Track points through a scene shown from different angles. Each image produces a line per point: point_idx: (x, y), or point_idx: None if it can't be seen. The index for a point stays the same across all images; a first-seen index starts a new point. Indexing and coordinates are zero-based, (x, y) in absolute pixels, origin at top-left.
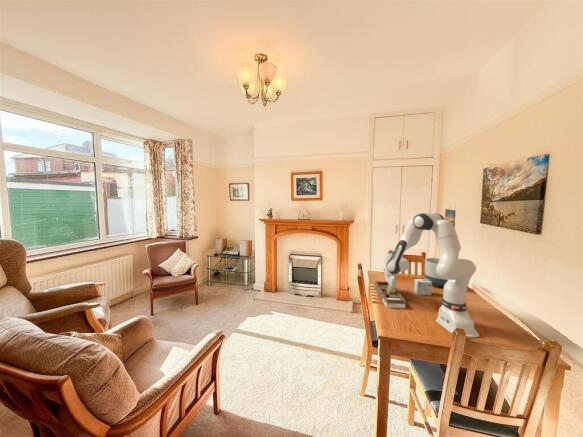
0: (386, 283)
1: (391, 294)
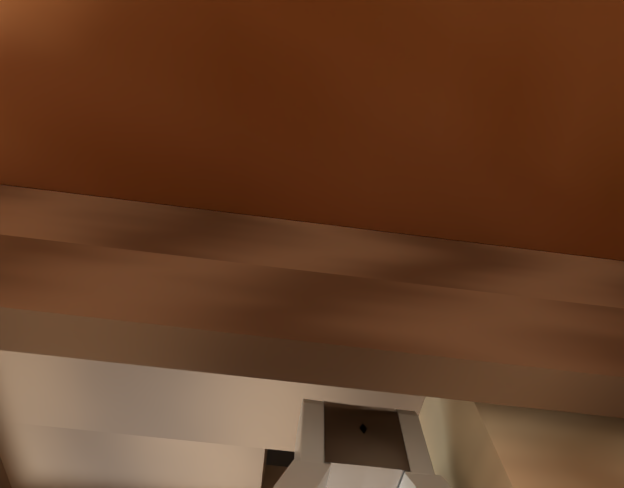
0: None
1: None
